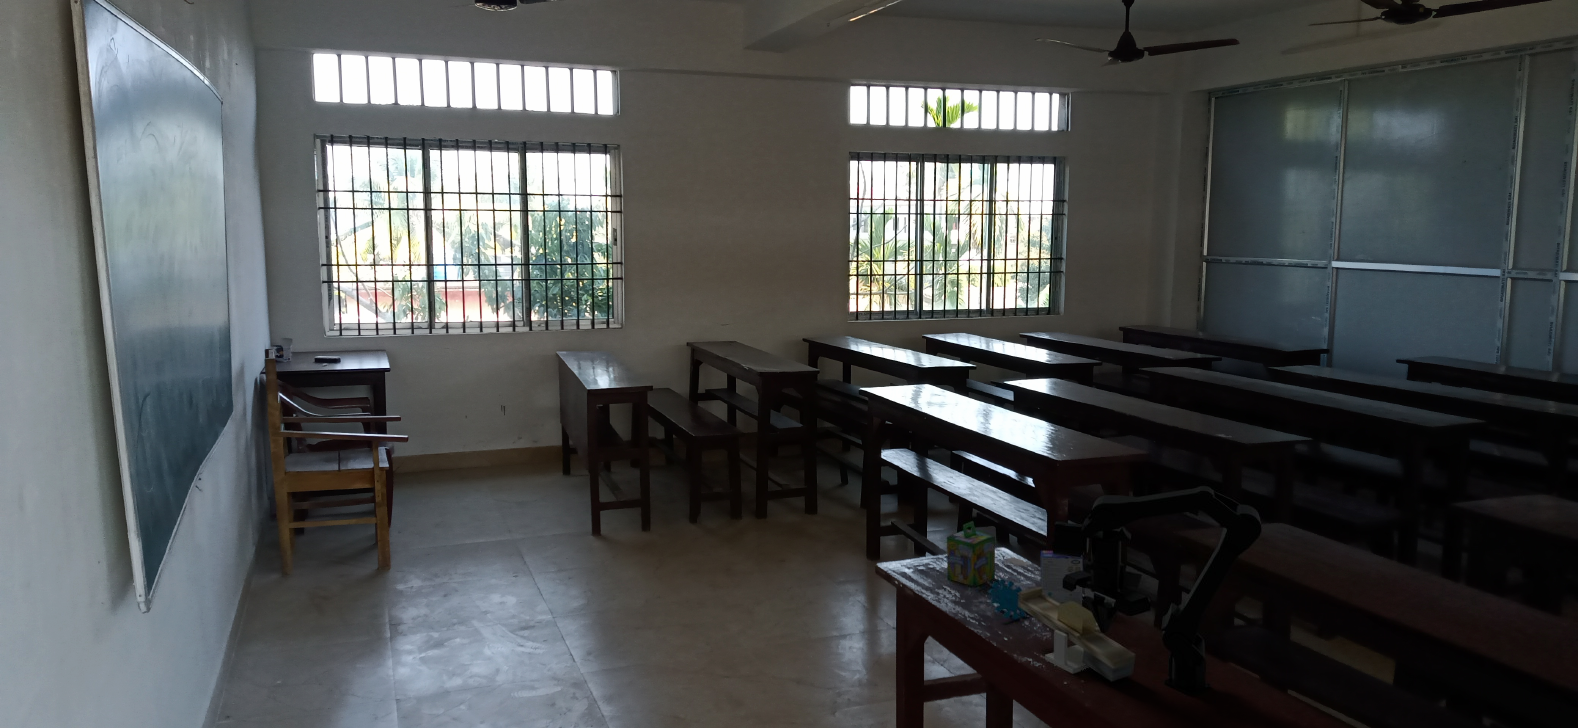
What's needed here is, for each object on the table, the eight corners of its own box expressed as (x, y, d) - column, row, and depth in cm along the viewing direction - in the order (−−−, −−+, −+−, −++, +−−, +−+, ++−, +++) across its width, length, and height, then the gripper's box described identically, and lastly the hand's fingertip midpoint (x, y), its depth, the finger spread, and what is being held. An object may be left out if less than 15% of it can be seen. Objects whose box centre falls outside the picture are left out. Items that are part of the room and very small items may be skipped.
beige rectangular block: (1094, 632, 214) (1097, 615, 213) (1081, 636, 212) (1083, 619, 211) (1070, 617, 220) (1072, 600, 219) (1056, 621, 218) (1058, 604, 217)
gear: (1000, 618, 236) (986, 578, 241) (988, 629, 240) (974, 590, 245) (1039, 615, 240) (1024, 576, 246) (1026, 626, 244) (1012, 588, 250)
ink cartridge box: (1081, 598, 250) (1082, 541, 248) (1083, 607, 244) (1084, 549, 242) (1039, 596, 252) (1040, 540, 250) (1040, 605, 246) (1041, 547, 244)
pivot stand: (1108, 661, 216) (1109, 628, 215) (1072, 673, 211) (1073, 640, 210) (1080, 647, 223) (1081, 615, 222) (1045, 659, 218) (1045, 626, 217)
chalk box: (974, 588, 259) (974, 531, 256) (945, 579, 265) (945, 524, 263) (996, 578, 265) (996, 523, 262) (968, 569, 271) (967, 515, 269)
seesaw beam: (1136, 672, 208) (1140, 644, 206) (1108, 682, 204) (1111, 653, 202) (1040, 611, 231) (1042, 585, 230) (1012, 619, 227) (1015, 592, 226)
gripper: (1171, 564, 203) (1168, 639, 205) (1099, 539, 219) (1098, 608, 221) (1131, 575, 197) (1129, 652, 200) (1060, 549, 213) (1060, 620, 216)
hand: (1104, 632), depth 209 cm, fingers closed
